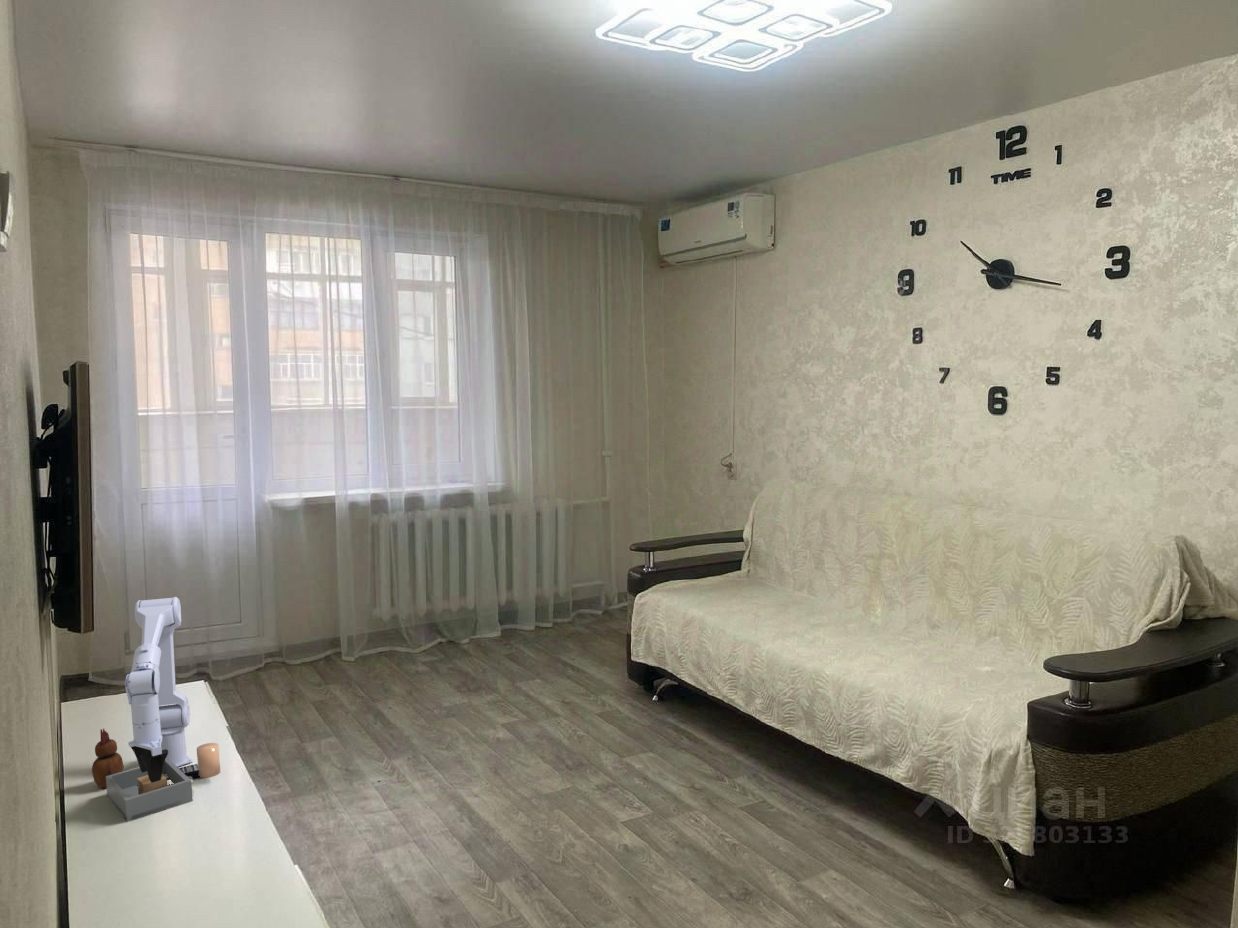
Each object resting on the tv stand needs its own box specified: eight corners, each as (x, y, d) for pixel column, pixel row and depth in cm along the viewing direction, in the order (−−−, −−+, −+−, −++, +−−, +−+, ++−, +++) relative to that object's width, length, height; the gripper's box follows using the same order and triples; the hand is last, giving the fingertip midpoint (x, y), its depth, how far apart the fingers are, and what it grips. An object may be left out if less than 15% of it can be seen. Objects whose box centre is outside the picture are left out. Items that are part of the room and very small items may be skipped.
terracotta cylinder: (196, 773, 226) (193, 747, 225) (216, 767, 229) (214, 741, 229) (202, 779, 222) (200, 752, 222) (223, 773, 226) (221, 746, 225)
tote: (107, 796, 215) (105, 776, 214) (169, 777, 224) (168, 758, 224) (127, 821, 202) (125, 800, 201) (192, 800, 211) (190, 780, 211)
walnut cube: (138, 798, 211) (137, 778, 210) (161, 791, 214) (160, 771, 214) (145, 805, 207) (143, 784, 207) (168, 797, 211) (166, 777, 210)
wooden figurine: (109, 791, 218) (103, 732, 216) (88, 789, 219) (83, 731, 217) (129, 779, 224) (124, 721, 223) (109, 777, 225) (104, 720, 224)
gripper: (119, 716, 212) (124, 771, 213) (135, 733, 201) (140, 791, 202) (151, 708, 216) (156, 762, 218) (169, 724, 206) (174, 781, 207)
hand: (151, 775), depth 210 cm, fingers open, 7 cm apart
